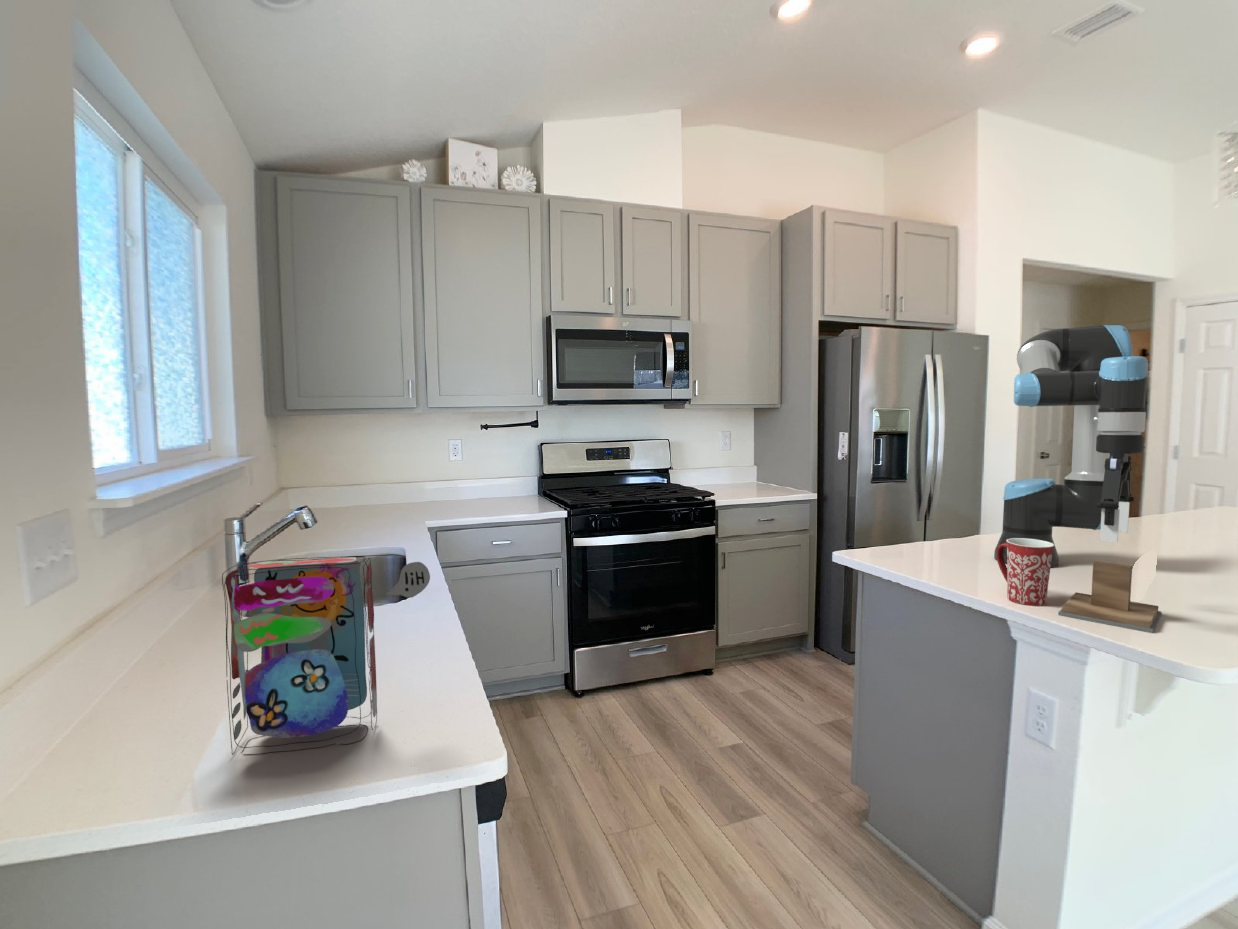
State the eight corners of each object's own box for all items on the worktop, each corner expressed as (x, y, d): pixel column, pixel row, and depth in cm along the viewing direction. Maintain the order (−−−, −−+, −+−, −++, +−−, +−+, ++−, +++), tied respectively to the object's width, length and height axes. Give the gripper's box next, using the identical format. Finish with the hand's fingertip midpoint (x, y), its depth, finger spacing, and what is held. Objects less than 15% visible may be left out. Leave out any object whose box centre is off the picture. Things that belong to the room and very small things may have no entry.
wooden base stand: (1075, 597, 137) (1077, 553, 136) (1158, 611, 127) (1161, 563, 126) (1061, 612, 128) (1064, 564, 127) (1149, 628, 118) (1153, 576, 117)
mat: (1073, 599, 138) (1073, 596, 138) (1161, 614, 127) (1161, 611, 127) (1058, 615, 128) (1058, 612, 128) (1152, 633, 117) (1153, 630, 117)
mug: (1062, 605, 134) (1065, 545, 132) (1026, 608, 132) (1029, 547, 131) (1015, 589, 146) (1017, 534, 145) (982, 592, 144) (984, 535, 143)
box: (437, 713, 90) (431, 549, 87) (434, 734, 84) (426, 559, 81) (249, 734, 84) (238, 561, 82) (231, 758, 78) (218, 572, 76)
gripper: (1107, 432, 135) (1102, 526, 137) (1085, 434, 118) (1079, 542, 120) (1151, 432, 130) (1145, 530, 132) (1135, 435, 113) (1129, 548, 114)
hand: (1114, 536), depth 126 cm, fingers open, 13 cm apart
